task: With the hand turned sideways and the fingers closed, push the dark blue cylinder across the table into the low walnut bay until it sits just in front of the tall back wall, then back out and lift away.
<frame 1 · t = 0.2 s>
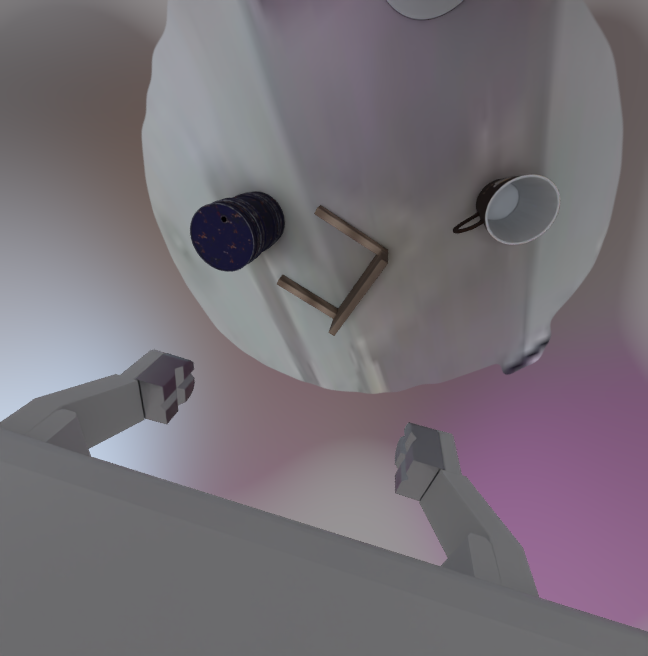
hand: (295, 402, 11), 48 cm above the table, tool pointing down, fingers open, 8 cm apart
coffee mug: (487, 200, 49), on the table
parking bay: (328, 263, 58), on the table
dark blue cylinder: (259, 219, 57), on the table
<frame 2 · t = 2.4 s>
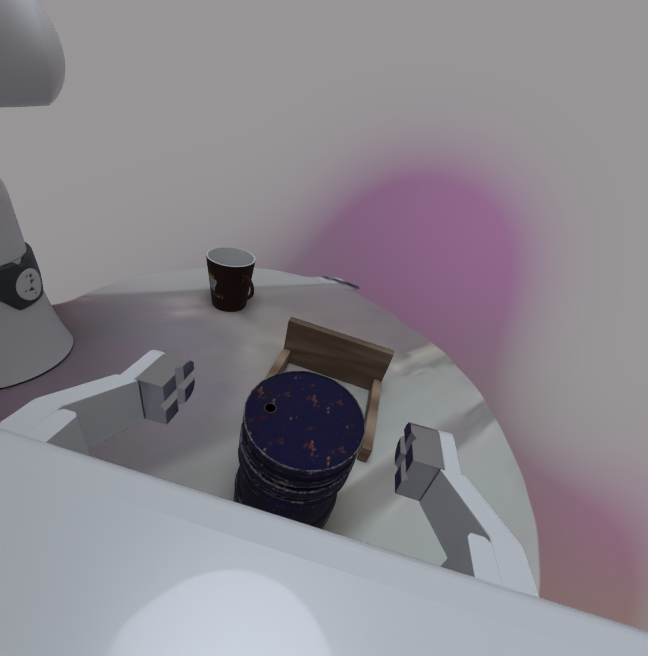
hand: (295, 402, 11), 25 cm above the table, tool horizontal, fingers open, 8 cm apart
coffee mug: (229, 307, 61), on the table
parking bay: (318, 404, 45), on the table
dark blue cylinder: (280, 506, 33), on the table
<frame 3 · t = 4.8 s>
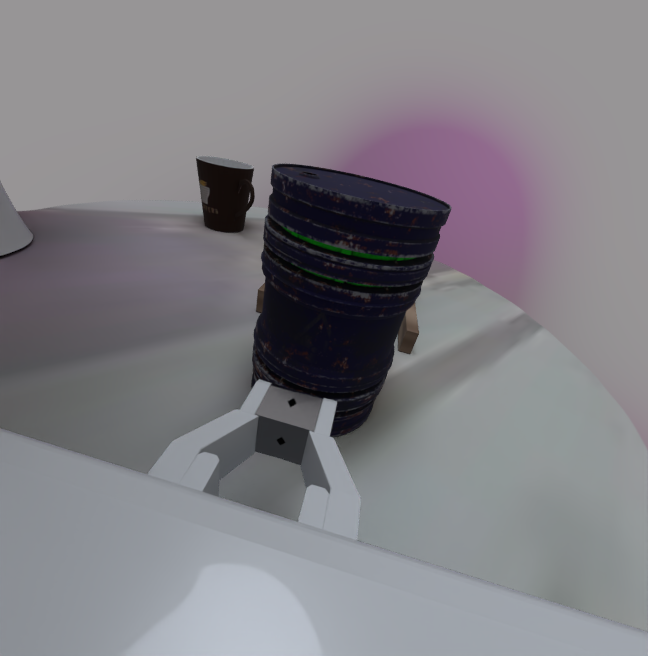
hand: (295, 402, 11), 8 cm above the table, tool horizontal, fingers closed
coffee mug: (225, 230, 52), on the table
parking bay: (341, 304, 37), on the table
dark blue cylinder: (313, 388, 25), on the table
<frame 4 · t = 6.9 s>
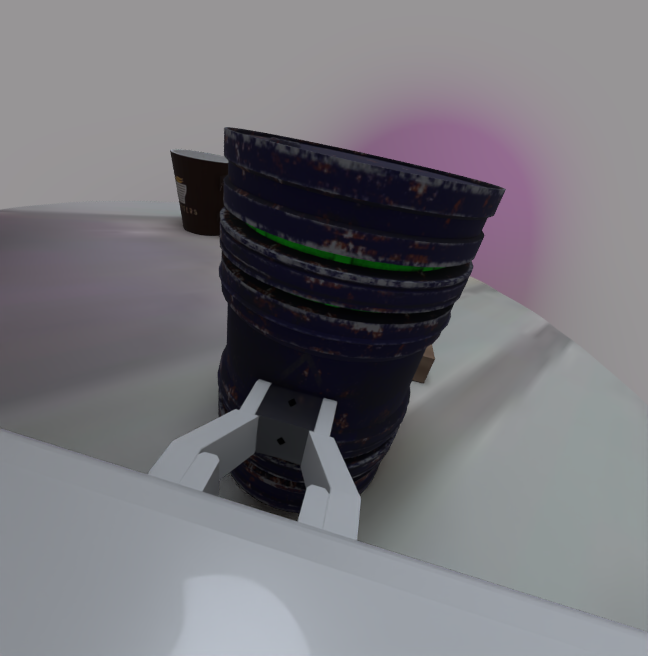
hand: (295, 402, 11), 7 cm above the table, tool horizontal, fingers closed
coffee mug: (206, 233, 47), on the table
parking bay: (337, 320, 31), on the table
dark blue cylinder: (302, 433, 19), on the table, touching gripper
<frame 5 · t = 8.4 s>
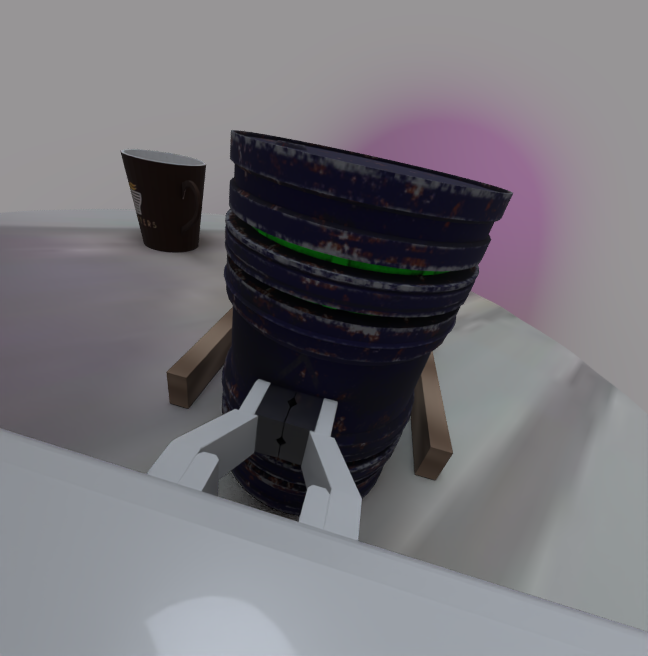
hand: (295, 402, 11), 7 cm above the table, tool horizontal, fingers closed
coffee mug: (171, 248, 39), on the table
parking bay: (320, 373, 24), on the table
dark blue cylinder: (306, 435, 19), on the table, touching gripper
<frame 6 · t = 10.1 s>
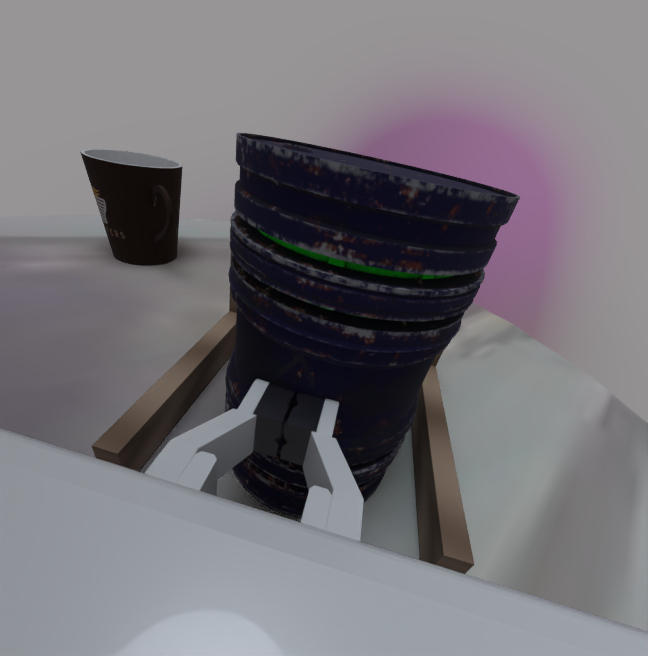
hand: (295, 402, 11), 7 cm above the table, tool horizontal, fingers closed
coffee mug: (144, 261, 35), on the table
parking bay: (304, 423, 19), on the table
dark blue cylinder: (308, 437, 19), on the table, touching gripper
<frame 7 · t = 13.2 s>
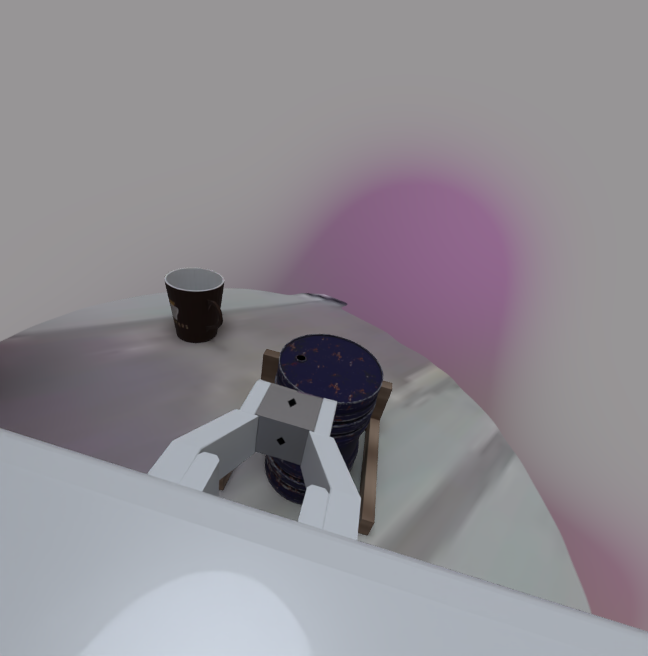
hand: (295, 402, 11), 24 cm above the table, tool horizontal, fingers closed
coffee mug: (197, 337, 52), on the table
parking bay: (304, 456, 37), on the table
dark blue cylinder: (306, 464, 36), on the table
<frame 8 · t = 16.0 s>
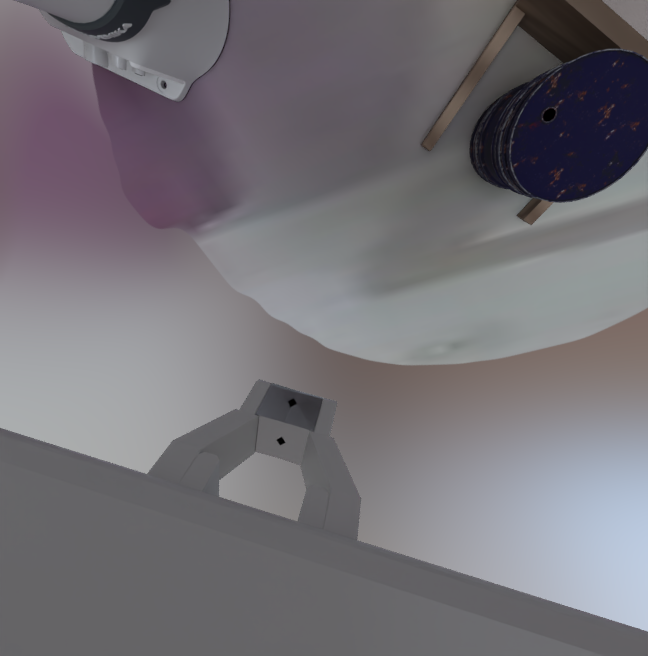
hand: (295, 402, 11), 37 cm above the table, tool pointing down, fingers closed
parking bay: (516, 130, 35), on the table
dark blue cylinder: (514, 139, 36), on the table
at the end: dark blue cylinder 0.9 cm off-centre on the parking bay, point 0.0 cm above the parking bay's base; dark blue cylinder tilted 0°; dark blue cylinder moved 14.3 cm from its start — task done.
